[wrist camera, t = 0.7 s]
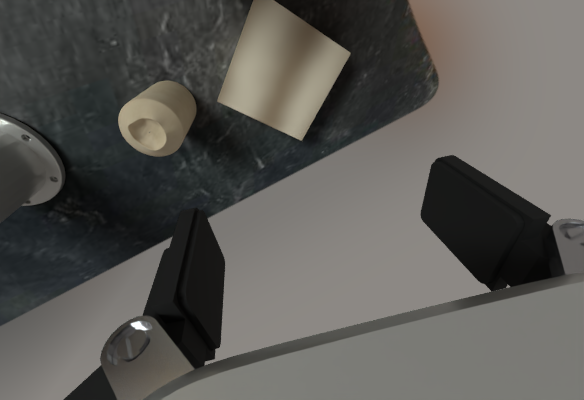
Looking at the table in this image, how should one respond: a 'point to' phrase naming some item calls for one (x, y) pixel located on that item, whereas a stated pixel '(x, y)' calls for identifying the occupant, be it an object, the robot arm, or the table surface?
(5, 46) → the table surface
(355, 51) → the table surface
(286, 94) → the plinth
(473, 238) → the robot arm
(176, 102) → the candle
